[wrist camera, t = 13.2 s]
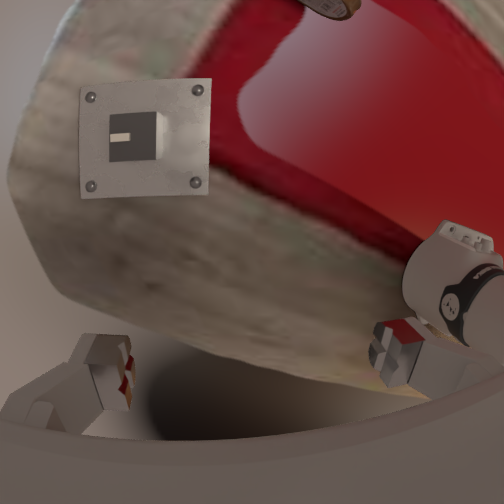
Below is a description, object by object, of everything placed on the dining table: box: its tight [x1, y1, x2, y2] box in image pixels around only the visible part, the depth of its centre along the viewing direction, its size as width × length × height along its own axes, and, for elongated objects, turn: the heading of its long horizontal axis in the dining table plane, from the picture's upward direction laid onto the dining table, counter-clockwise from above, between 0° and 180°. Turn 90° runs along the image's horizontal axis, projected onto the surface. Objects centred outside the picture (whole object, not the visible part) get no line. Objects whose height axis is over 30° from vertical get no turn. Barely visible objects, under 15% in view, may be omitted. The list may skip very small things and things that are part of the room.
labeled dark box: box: [109, 111, 163, 162], centre depth 31 cm, size 5×5×6 cm
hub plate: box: [79, 78, 212, 199], centre depth 33 cm, size 16×14×4 cm
